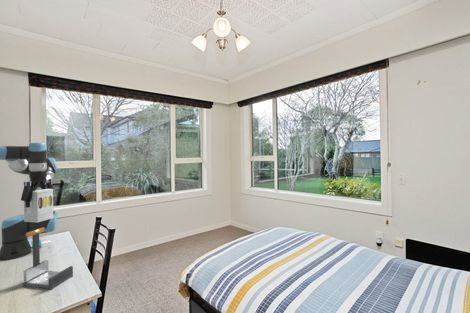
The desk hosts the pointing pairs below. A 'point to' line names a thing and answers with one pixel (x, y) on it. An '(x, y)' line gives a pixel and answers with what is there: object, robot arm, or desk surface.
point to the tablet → (39, 243)
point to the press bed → (49, 279)
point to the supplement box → (40, 206)
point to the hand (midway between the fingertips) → (38, 210)
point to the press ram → (35, 257)
